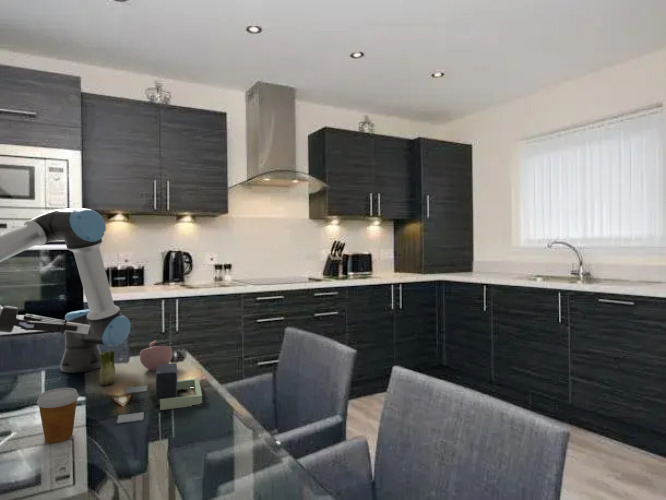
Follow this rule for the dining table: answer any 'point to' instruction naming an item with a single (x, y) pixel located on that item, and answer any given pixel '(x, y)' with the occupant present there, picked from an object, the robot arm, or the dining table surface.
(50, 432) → the disposable coffee cup
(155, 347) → the mortar and pestle
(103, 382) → the fennel bulb
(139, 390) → the track
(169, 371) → the small box
